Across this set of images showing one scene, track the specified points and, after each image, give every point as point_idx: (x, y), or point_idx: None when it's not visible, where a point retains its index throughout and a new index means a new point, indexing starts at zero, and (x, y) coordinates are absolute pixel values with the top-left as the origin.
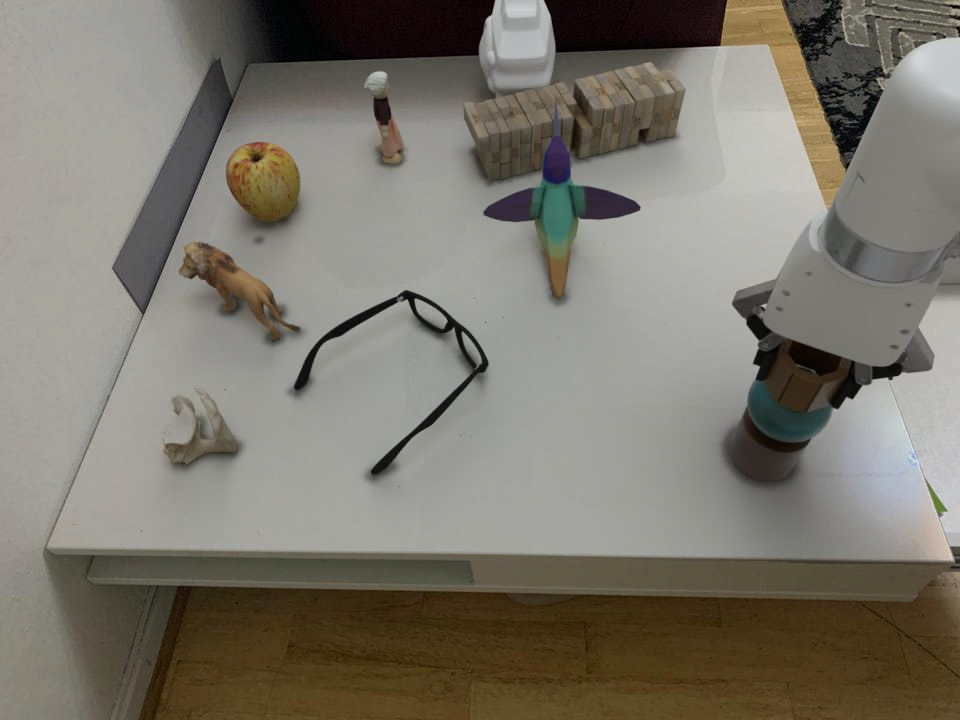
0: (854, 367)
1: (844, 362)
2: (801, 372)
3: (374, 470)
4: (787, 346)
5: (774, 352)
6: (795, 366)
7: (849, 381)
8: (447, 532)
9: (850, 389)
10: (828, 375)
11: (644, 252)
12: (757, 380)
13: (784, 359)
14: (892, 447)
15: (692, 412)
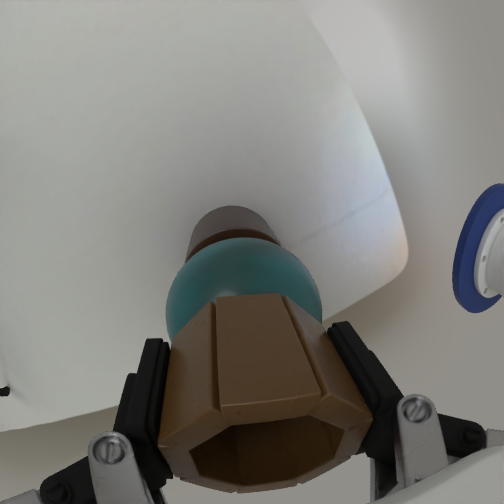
0: (372, 449)
1: (349, 441)
2: (250, 488)
3: (7, 395)
4: (188, 468)
5: (169, 472)
6: (232, 487)
7: (358, 452)
8: (63, 411)
9: None
10: (311, 472)
11: (10, 43)
12: (170, 337)
13: (200, 484)
14: (371, 164)
15: (131, 232)
